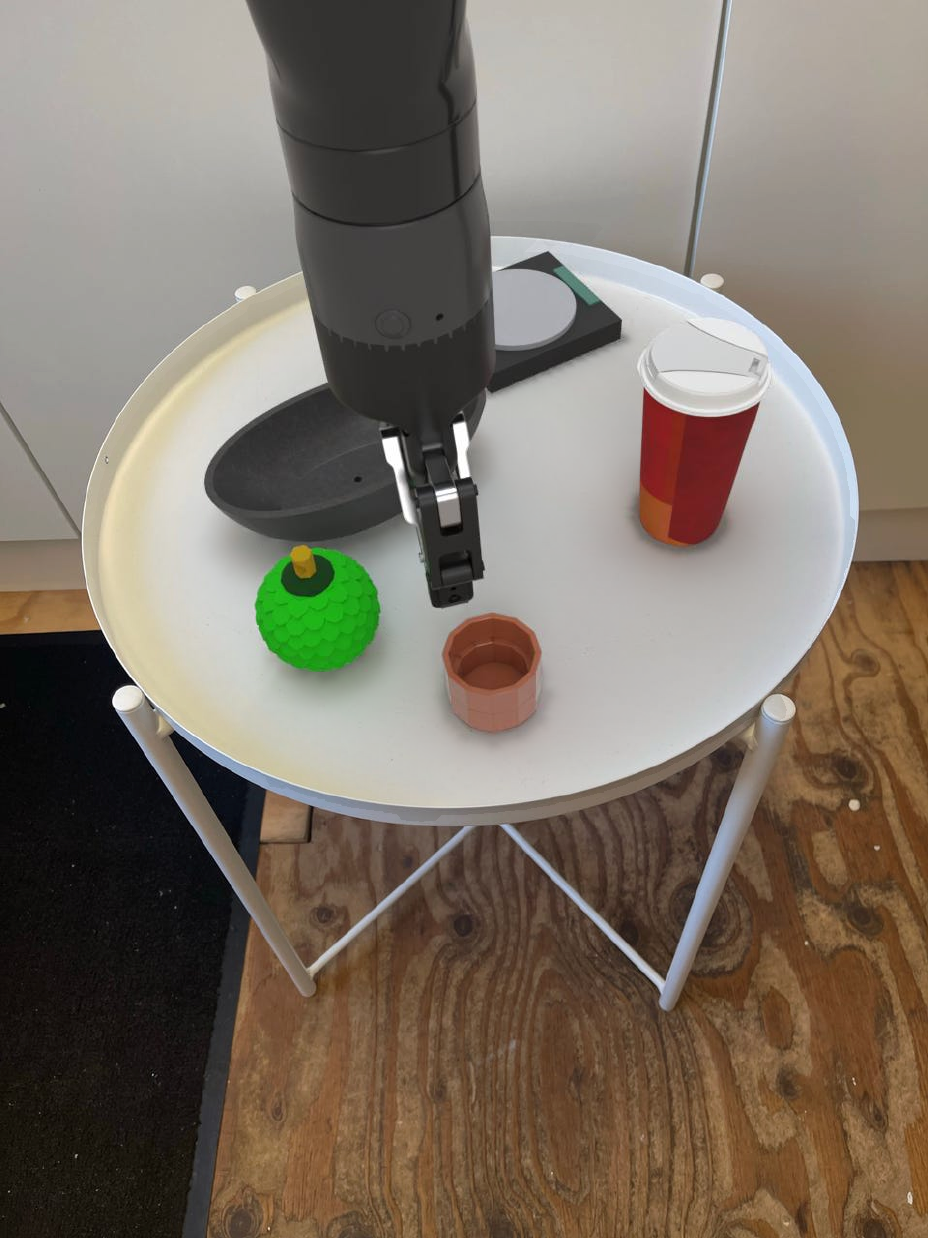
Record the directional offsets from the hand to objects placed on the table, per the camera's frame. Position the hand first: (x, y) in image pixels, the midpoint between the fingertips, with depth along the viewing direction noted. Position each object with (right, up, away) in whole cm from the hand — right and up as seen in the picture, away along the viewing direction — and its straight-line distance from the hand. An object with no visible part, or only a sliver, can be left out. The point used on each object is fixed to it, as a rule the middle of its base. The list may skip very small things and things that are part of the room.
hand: (434, 538), depth 52 cm
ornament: (-8, -6, +15) cm, 18 cm away
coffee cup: (+18, +3, +20) cm, 27 cm away
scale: (+7, +22, +34) cm, 40 cm away
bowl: (-6, +5, +23) cm, 25 cm away
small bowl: (+4, -9, +12) cm, 15 cm away
